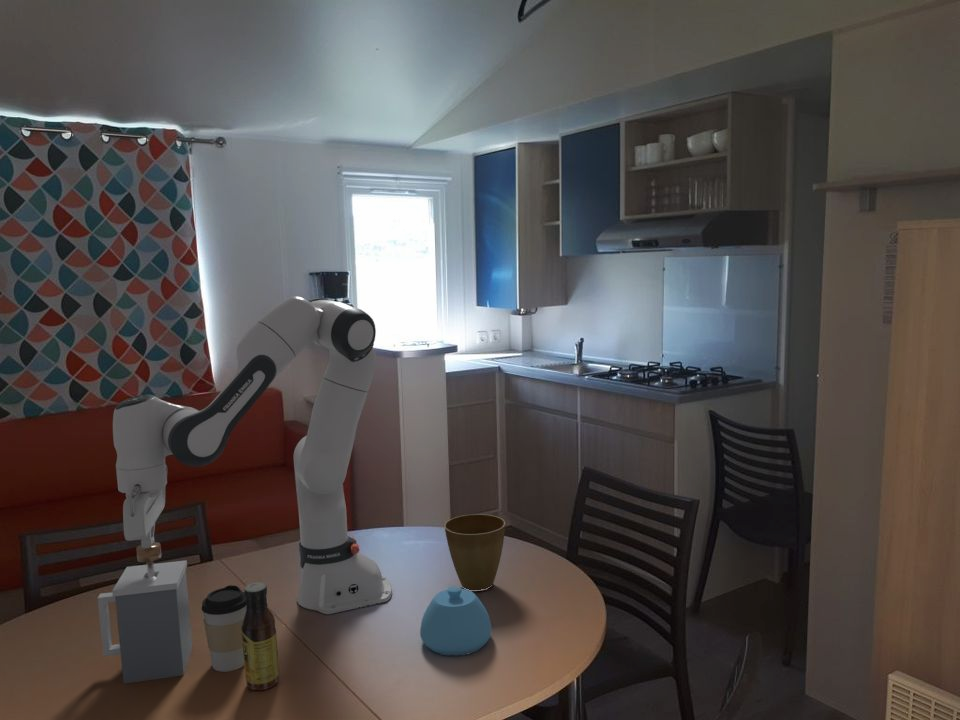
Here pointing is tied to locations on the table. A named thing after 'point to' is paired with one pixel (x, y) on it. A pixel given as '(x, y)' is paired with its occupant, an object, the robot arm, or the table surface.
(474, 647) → the sugar bowl
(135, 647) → the press jug
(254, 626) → the sauce bottle
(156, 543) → the press plunger
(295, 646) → the table surface
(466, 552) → the plant pot
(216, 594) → the coffee cup
